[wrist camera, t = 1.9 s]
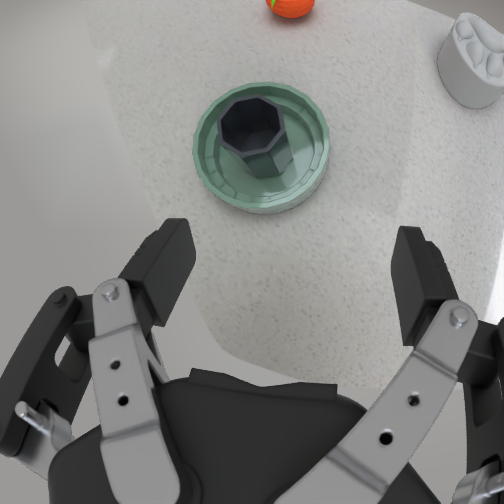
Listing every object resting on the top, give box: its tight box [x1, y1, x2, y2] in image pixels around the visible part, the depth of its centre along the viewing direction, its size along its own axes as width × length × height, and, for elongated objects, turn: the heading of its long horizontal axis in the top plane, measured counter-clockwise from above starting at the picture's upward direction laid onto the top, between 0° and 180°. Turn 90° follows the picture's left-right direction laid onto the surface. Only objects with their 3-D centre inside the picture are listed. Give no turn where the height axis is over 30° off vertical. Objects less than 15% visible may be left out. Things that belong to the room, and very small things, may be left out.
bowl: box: [192, 82, 330, 214], centre depth 31 cm, size 14×14×5 cm
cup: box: [217, 94, 293, 178], centre depth 29 cm, size 6×6×8 cm
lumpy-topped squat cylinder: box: [437, 13, 504, 109], centre depth 23 cm, size 10×13×9 cm
